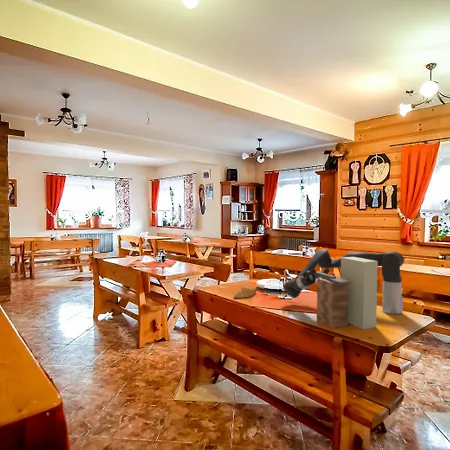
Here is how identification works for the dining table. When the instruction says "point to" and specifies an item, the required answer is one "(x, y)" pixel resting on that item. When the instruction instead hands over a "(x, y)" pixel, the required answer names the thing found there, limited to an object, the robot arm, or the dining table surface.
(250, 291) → the tan rounded lump
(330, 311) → the wood grain box
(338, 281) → the spatula
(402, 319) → the dining table surface
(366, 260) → the tall pale grey box
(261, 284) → the plate
